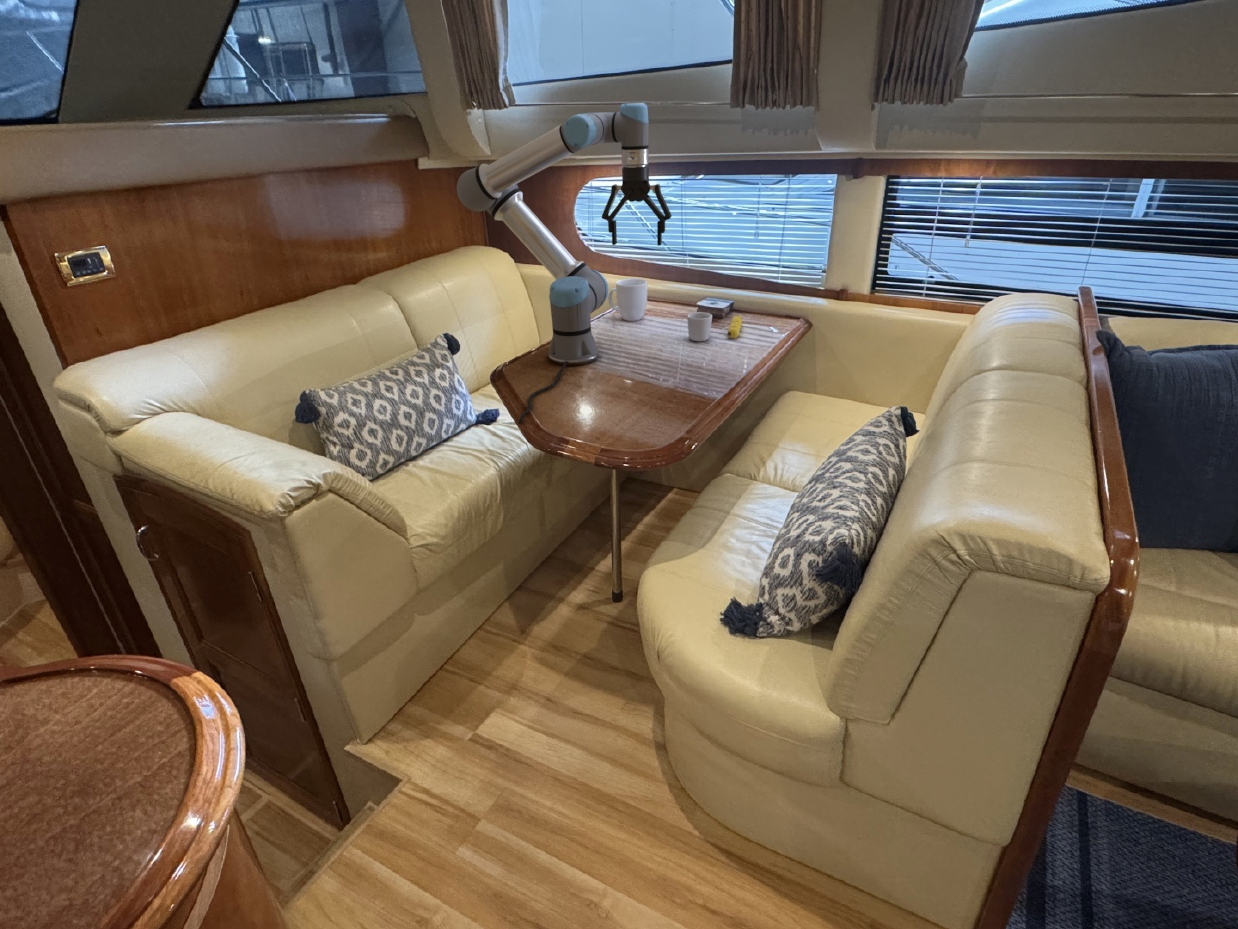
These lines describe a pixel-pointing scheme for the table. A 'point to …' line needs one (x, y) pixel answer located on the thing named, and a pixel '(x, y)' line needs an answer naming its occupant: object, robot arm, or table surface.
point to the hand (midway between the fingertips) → (636, 244)
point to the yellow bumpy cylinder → (734, 327)
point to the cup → (699, 325)
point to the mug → (630, 298)
